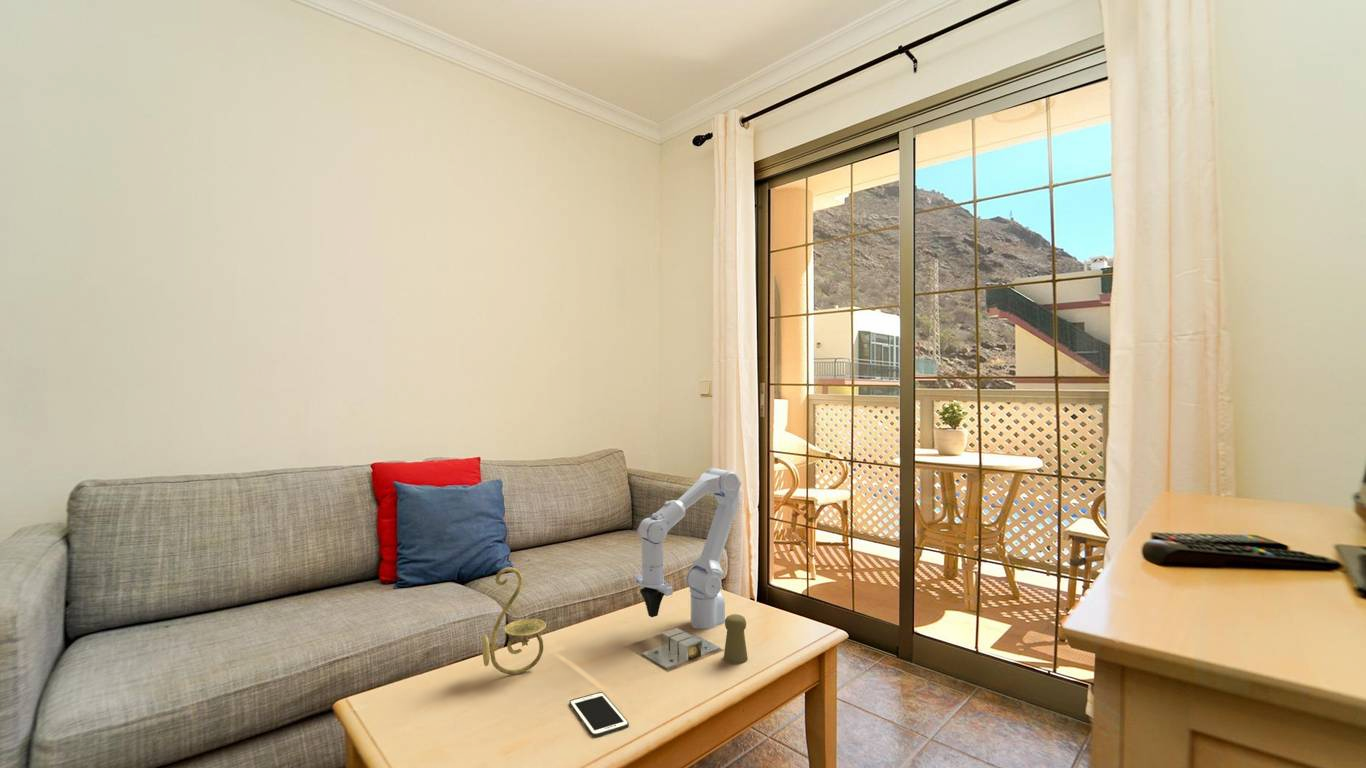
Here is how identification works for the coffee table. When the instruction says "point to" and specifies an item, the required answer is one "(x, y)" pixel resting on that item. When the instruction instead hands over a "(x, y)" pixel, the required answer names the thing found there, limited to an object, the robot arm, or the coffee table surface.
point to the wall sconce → (513, 631)
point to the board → (657, 642)
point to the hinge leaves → (678, 648)
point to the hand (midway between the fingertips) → (653, 615)
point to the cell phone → (598, 714)
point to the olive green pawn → (735, 640)
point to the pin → (692, 652)
